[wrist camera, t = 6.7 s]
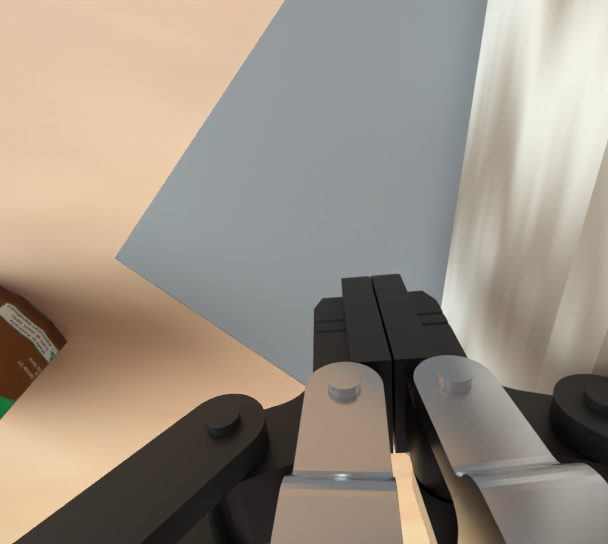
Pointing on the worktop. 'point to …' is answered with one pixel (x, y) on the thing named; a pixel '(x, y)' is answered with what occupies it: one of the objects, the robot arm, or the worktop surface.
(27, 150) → the worktop surface
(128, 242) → the plaque display stand
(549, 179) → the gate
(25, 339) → the food container
